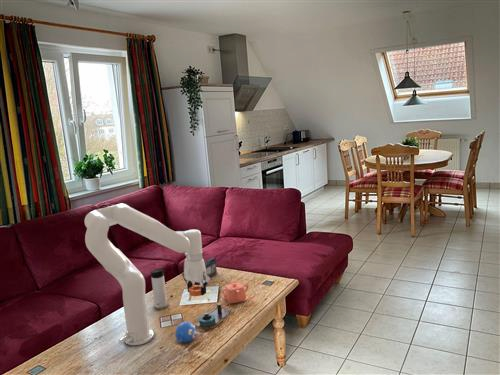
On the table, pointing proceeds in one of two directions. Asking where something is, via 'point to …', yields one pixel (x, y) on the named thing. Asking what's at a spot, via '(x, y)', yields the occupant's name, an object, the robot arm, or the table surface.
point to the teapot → (235, 292)
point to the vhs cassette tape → (210, 268)
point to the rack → (216, 315)
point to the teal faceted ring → (207, 322)
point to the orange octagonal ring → (195, 290)
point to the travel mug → (159, 289)
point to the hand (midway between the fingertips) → (197, 292)
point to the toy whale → (186, 332)
